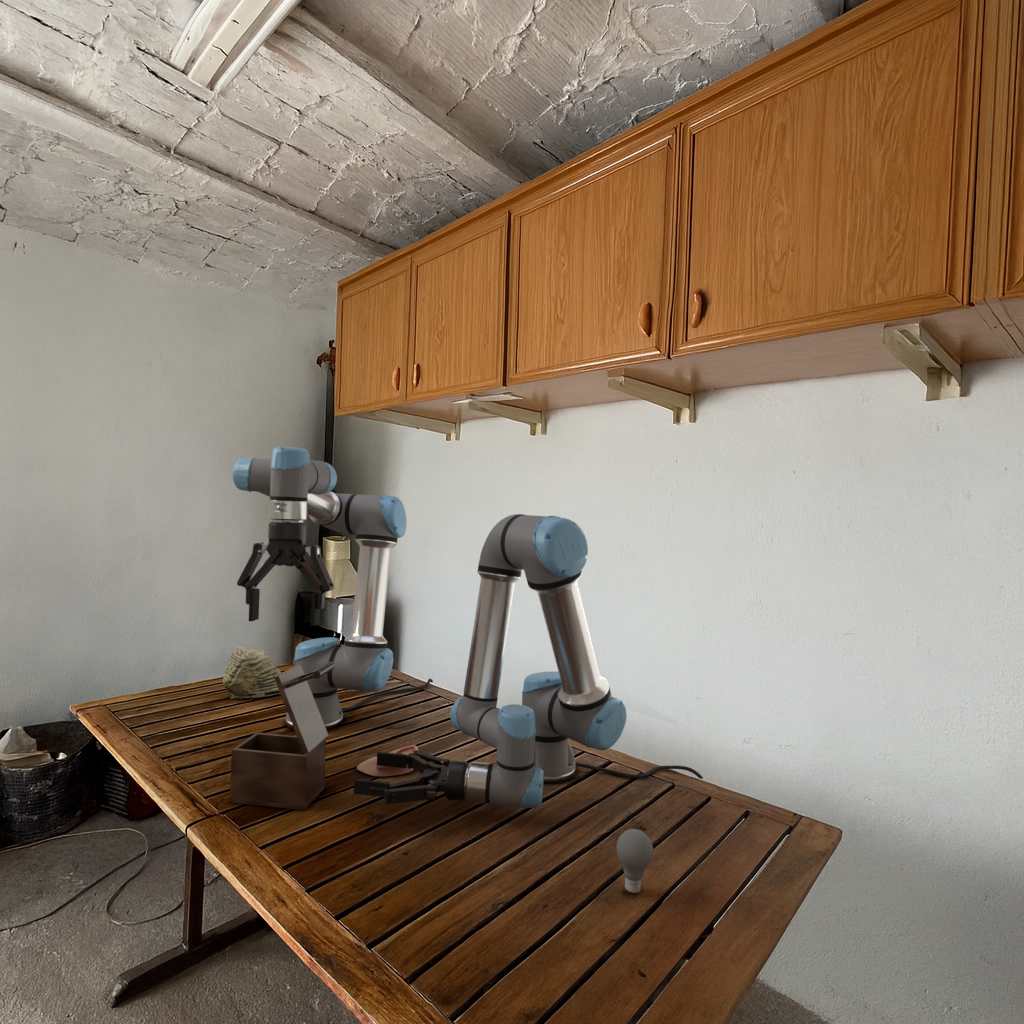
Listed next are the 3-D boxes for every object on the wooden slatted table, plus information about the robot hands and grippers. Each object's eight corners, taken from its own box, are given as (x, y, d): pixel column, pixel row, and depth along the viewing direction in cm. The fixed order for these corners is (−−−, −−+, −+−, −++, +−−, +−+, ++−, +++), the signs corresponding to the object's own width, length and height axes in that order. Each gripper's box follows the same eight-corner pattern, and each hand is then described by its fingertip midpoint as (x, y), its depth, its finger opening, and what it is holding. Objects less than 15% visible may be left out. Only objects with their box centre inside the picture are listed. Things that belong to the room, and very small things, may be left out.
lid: (273, 677, 128) (312, 662, 127) (296, 665, 138) (332, 650, 137) (304, 754, 128) (343, 739, 127) (324, 736, 137) (360, 722, 136)
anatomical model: (351, 756, 145) (372, 738, 156) (350, 773, 145) (371, 754, 156) (406, 763, 142) (423, 744, 154) (405, 780, 143) (422, 760, 154)
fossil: (218, 695, 195) (220, 647, 195) (278, 685, 208) (279, 640, 207) (228, 703, 189) (230, 653, 188) (289, 692, 201) (290, 645, 201)
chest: (229, 802, 130) (231, 749, 129) (254, 781, 139) (256, 732, 139) (304, 810, 128) (306, 756, 128) (324, 788, 138) (326, 738, 137)
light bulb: (610, 879, 108) (613, 822, 108) (644, 879, 109) (647, 822, 109) (619, 902, 102) (622, 840, 102) (655, 901, 103) (658, 840, 103)
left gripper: (221, 518, 130) (218, 621, 131) (338, 524, 127) (334, 629, 128) (241, 518, 138) (238, 615, 138) (352, 523, 135) (348, 622, 135)
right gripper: (453, 831, 116) (342, 819, 119) (477, 773, 141) (385, 764, 144) (455, 790, 116) (344, 780, 119) (478, 740, 141) (386, 732, 144)
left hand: (284, 622), depth 133 cm, fingers open, 13 cm apart
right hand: (366, 771), depth 131 cm, fingers open, 13 cm apart
